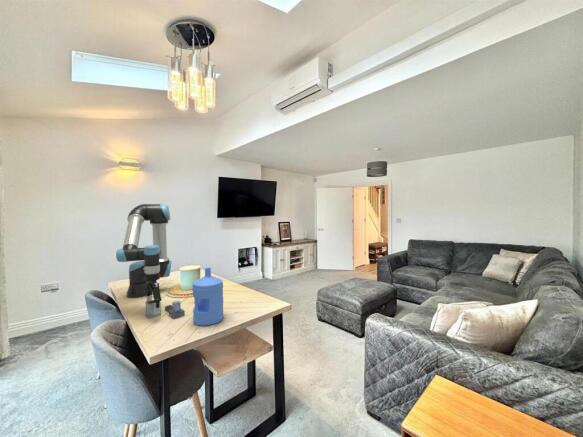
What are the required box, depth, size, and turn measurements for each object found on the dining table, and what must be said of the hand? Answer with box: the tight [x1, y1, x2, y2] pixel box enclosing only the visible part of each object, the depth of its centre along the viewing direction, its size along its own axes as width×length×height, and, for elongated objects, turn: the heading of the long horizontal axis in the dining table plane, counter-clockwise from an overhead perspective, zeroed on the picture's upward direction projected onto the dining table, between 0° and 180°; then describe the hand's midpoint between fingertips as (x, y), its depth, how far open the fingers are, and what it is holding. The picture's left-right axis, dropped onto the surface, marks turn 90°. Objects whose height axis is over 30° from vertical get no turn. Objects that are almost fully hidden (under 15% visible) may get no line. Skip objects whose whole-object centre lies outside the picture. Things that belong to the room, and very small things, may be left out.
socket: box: [144, 299, 162, 320], centre depth 137 cm, size 6×6×8 cm
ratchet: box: [164, 300, 186, 320], centre depth 140 cm, size 17×6×8 cm, turn 46°
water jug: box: [192, 267, 225, 327], centre depth 131 cm, size 16×16×28 cm
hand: (153, 310), depth 137 cm, fingers open, 13 cm apart
